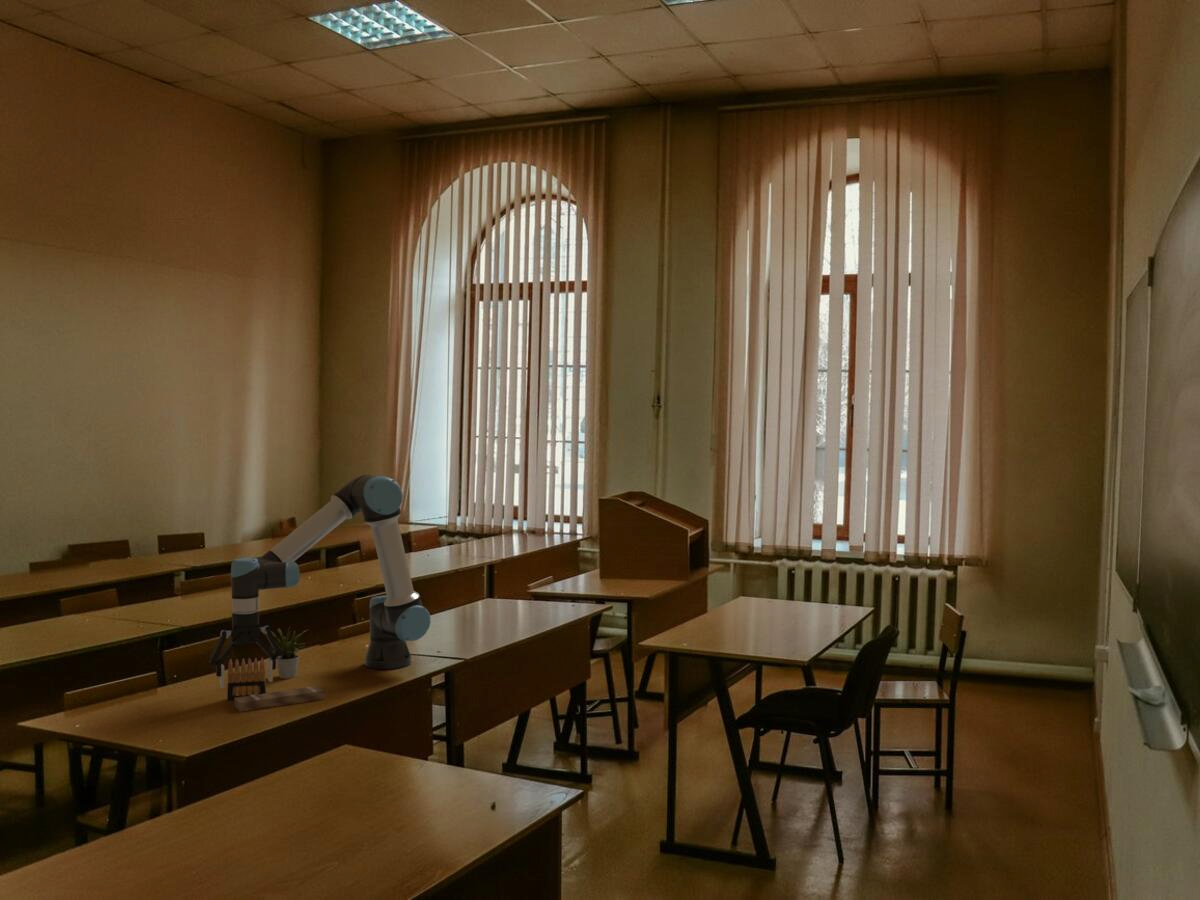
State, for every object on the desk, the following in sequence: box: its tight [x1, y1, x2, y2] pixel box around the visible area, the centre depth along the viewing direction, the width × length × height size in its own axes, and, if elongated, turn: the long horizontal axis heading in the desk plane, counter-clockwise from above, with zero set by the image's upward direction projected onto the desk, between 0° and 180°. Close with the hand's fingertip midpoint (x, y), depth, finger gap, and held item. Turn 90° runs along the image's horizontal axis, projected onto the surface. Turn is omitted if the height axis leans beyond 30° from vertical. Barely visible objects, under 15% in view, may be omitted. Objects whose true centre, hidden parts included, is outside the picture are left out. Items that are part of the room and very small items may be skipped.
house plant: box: [264, 626, 309, 680], centre depth 325 cm, size 14×14×16 cm
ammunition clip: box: [226, 656, 267, 701], centre depth 300 cm, size 11×2×12 cm, turn 103°
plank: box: [233, 685, 326, 713], centre depth 295 cm, size 24×6×3 cm, turn 122°
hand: (246, 684), depth 300 cm, fingers open, 13 cm apart
